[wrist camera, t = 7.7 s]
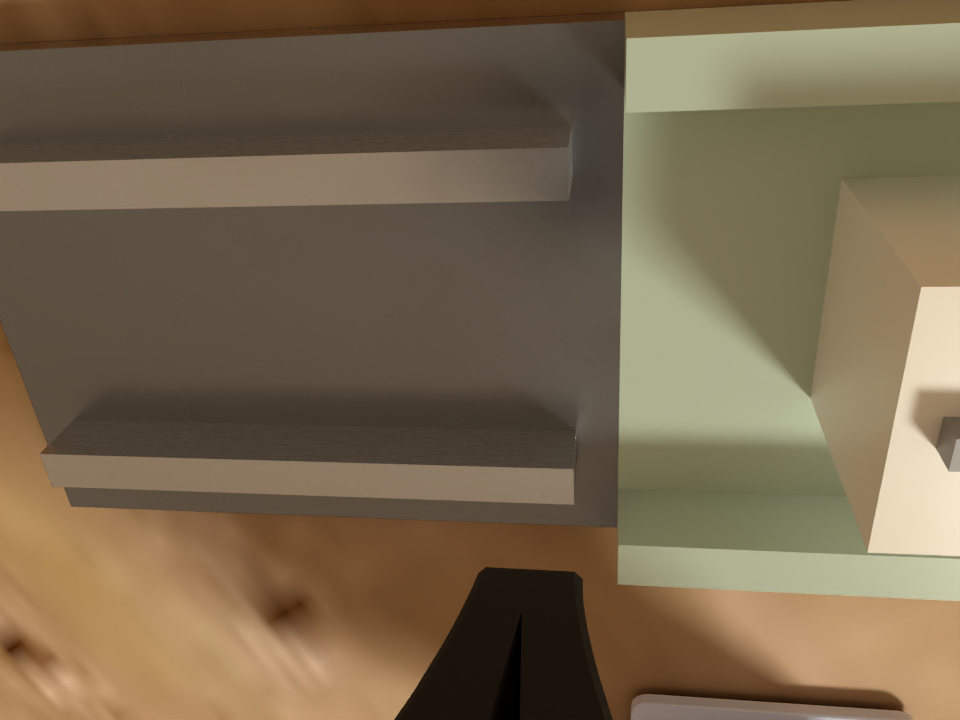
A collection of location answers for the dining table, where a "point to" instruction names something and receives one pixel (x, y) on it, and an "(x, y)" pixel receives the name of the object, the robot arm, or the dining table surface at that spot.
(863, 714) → the robot arm
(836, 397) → the beige cardboard box
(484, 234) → the dock
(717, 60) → the tray
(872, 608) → the dining table surface
